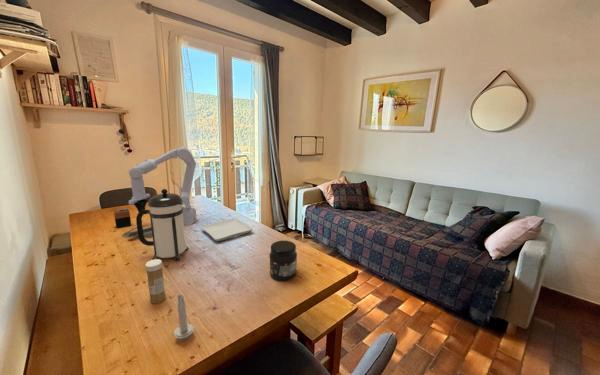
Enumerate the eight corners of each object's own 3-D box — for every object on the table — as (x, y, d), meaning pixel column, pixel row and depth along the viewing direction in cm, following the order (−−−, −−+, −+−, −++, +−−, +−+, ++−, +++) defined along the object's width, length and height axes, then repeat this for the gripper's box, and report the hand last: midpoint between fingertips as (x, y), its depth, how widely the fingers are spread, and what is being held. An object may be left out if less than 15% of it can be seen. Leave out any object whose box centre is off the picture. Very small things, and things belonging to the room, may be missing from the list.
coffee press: (181, 243, 121) (175, 183, 114) (195, 255, 110) (189, 189, 103) (140, 255, 109) (131, 188, 102) (151, 270, 98) (141, 196, 91)
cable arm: (156, 229, 134) (155, 222, 133) (159, 230, 132) (158, 224, 131) (127, 237, 124) (126, 230, 123) (129, 239, 122) (128, 232, 121)
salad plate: (216, 245, 120) (215, 238, 120) (199, 231, 136) (199, 225, 135) (254, 234, 134) (254, 228, 133) (235, 222, 150) (235, 217, 149)
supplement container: (271, 266, 103) (271, 239, 100) (297, 267, 102) (297, 240, 100) (267, 281, 92) (267, 251, 90) (296, 282, 92) (296, 252, 89)
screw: (197, 336, 67) (179, 347, 64) (189, 327, 71) (171, 337, 67) (193, 294, 65) (174, 303, 61) (185, 286, 68) (166, 295, 64)
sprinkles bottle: (147, 299, 81) (142, 262, 78) (162, 293, 85) (158, 257, 82) (153, 306, 78) (148, 267, 75) (168, 299, 82) (164, 262, 79)
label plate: (165, 228, 139) (165, 225, 139) (150, 237, 126) (150, 235, 126) (139, 227, 140) (139, 224, 139) (122, 236, 127) (121, 234, 127)
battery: (131, 225, 141) (129, 209, 139) (116, 228, 137) (114, 211, 135) (130, 223, 144) (128, 207, 142) (115, 226, 140) (113, 209, 138)
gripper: (140, 185, 141) (143, 208, 144) (121, 192, 127) (125, 217, 130) (152, 186, 140) (155, 209, 144) (134, 192, 126) (138, 218, 130)
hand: (141, 213), depth 137 cm, fingers closed
